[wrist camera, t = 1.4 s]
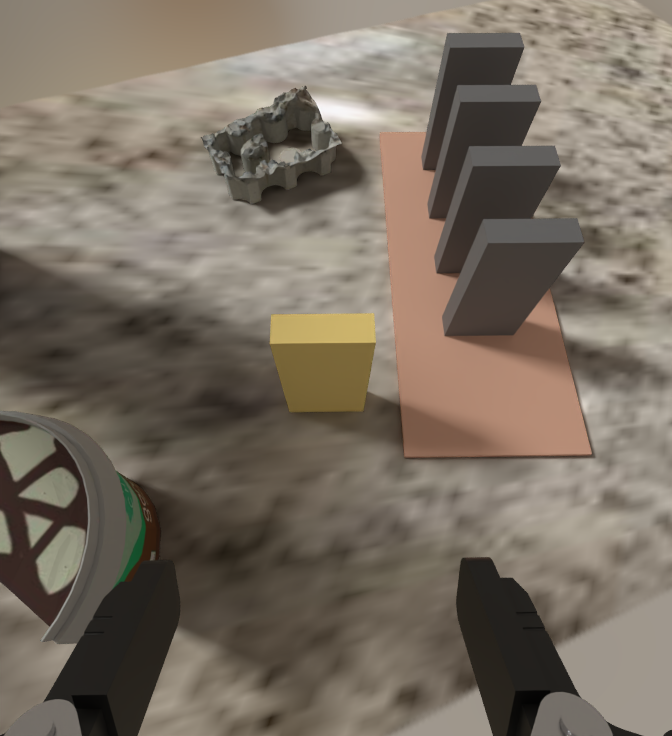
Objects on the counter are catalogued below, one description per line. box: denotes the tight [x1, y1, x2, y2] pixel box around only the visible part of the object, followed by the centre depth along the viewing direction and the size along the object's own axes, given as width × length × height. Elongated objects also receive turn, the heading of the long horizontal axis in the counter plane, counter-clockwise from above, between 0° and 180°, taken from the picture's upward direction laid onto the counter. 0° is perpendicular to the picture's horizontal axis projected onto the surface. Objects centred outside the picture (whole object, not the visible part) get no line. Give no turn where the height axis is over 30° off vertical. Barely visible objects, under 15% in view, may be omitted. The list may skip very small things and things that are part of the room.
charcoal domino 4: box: [442, 218, 584, 336], centre depth 28 cm, size 2×5×10 cm, turn 91°
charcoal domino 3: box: [434, 146, 561, 273], centre depth 30 cm, size 2×5×10 cm, turn 90°
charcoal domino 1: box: [421, 33, 524, 170], centre depth 35 cm, size 2×5×10 cm, turn 91°
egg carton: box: [201, 86, 342, 204], centre depth 38 cm, size 11×8×4 cm
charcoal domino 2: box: [427, 85, 541, 218], centre depth 32 cm, size 2×5×10 cm, turn 91°
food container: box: [0, 411, 161, 644], centre depth 23 cm, size 12×6×10 cm, turn 56°
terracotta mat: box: [380, 132, 592, 458], centre depth 35 cm, size 30×12×1 cm, turn 1°
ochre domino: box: [270, 313, 376, 412], centre depth 26 cm, size 2×5×10 cm, turn 91°
